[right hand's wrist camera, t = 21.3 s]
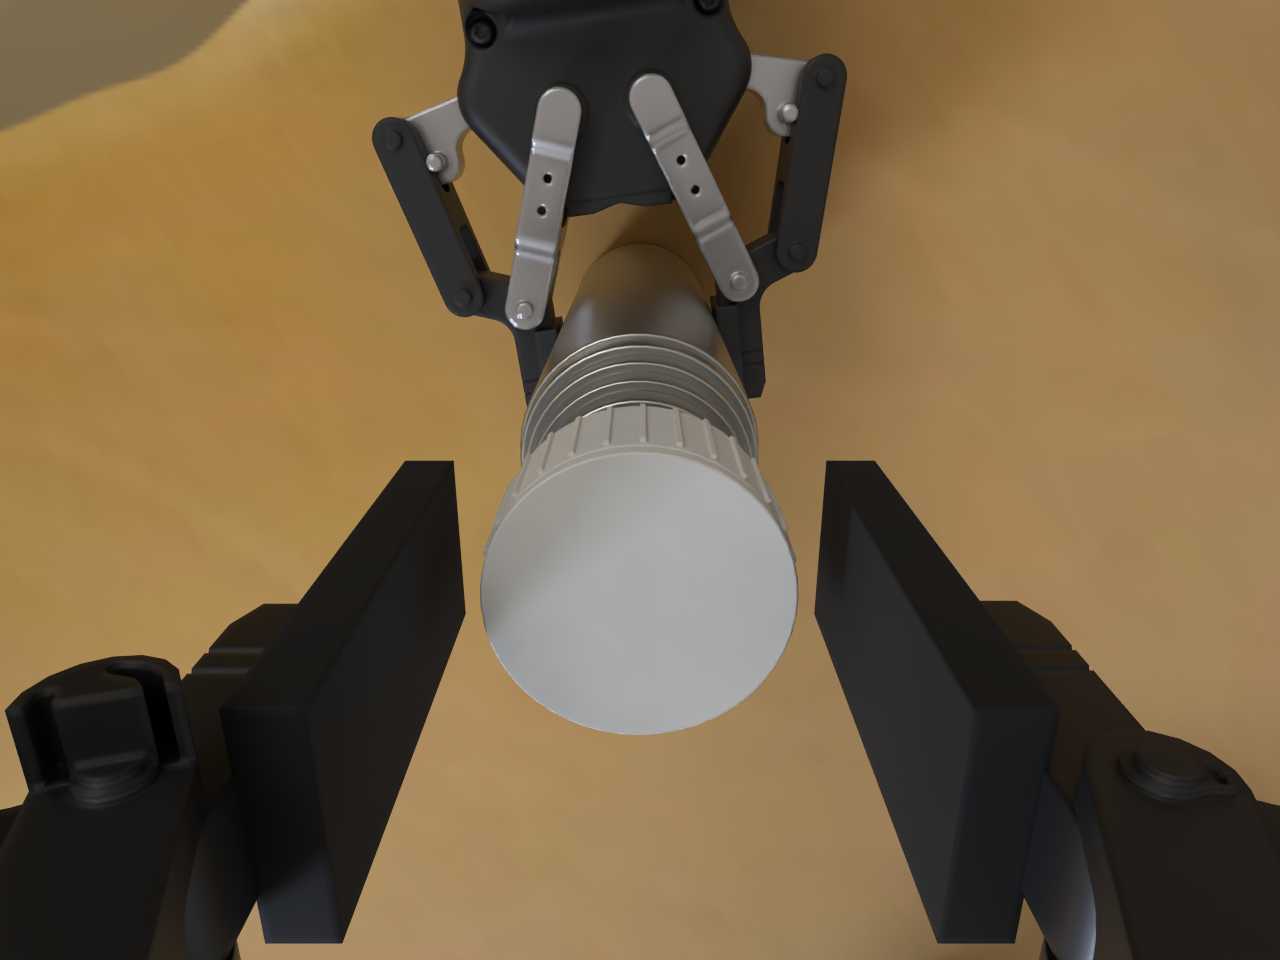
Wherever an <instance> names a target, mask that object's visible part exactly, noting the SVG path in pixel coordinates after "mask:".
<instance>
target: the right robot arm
mask: <svg viewBox="0 0 1280 960" xmlns="http://www.w3.org/2000/svg"><path fill="white" fill-rule="evenodd" d="M465 614H466V612H465V600H464V587H463V574H462V562H461V549H460V536H459V524H458V511H457V498H456V486H455V473H454V461H405V462H404V463H403V465H402V466H401V467H400V469H399V470H398V471H397V473H396V474H395V475H394V477H393V478H392V479H391V481H390V482H389V483H388V485H387V486H386V487H385V489H384V490H383V491H382V493H381V494H380V495H379V497H378V498H377V499H376V501H375V502H374V503H373V505H372V506H371V507H370V509H369V510H368V511H367V513H366V514H365V515H364V517H363V518H362V519H361V521H360V522H359V523H358V525H357V526H356V527H355V529H354V530H353V531H352V533H351V534H350V535H349V537H348V538H347V539H346V541H345V542H344V543H343V545H342V546H341V547H340V549H339V550H338V551H337V553H336V554H335V555H334V557H333V558H332V559H331V561H330V562H329V563H328V565H327V566H326V567H325V569H324V570H323V571H322V573H321V574H320V575H319V577H318V578H317V579H316V581H315V582H314V583H313V585H312V586H311V587H310V589H309V590H308V591H307V593H306V594H305V595H304V597H303V598H302V599H301V601H300V602H299V603H298V604H263V605H261V606H259V607H258V608H256V609H254V610H253V611H251V612H249V613H248V614H246V615H245V616H243V617H241V618H240V619H238V620H236V621H235V622H233V623H231V624H230V625H229V626H228V627H227V628H226V629H225V631H224V632H223V633H222V634H221V635H220V636H219V638H218V639H217V640H216V641H215V642H214V643H213V645H212V646H211V647H210V648H209V653H205V654H204V655H203V656H202V657H201V658H200V660H199V661H198V662H197V663H196V664H195V665H194V667H193V668H192V673H191V674H187V675H186V676H185V677H184V678H183V679H182V681H181V678H180V673H179V669H178V668H176V667H175V666H174V665H172V664H171V663H170V662H168V661H167V660H166V659H160V658H155V657H150V656H145V655H135V656H116V657H109V658H105V659H100V660H96V661H92V662H87V663H83V664H79V665H77V666H74V667H71V668H69V669H66V670H64V671H61V672H59V673H56V674H53V675H51V676H48V677H47V678H45V679H43V680H42V681H40V682H38V683H37V684H35V685H34V686H32V687H30V688H29V689H27V690H25V691H24V692H22V693H21V694H20V695H19V696H18V697H17V698H16V699H15V700H14V701H13V702H12V703H11V704H10V705H9V707H8V708H7V709H6V710H5V713H6V716H7V719H8V723H9V726H10V729H11V733H12V736H13V739H14V743H15V746H16V749H17V753H18V756H19V759H20V763H21V766H22V769H23V773H24V776H25V779H26V783H27V786H28V789H29V792H28V794H27V796H26V798H25V800H24V802H23V804H22V805H19V806H15V807H11V808H7V809H2V810H0V960H241V958H240V953H239V948H238V944H237V938H238V936H239V934H240V932H241V930H242V928H243V926H244V924H245V922H246V920H247V918H248V916H249V914H250V912H251V910H252V908H253V906H254V904H255V902H256V900H257V904H258V909H259V914H260V919H261V924H262V929H263V934H264V939H265V943H343V940H344V937H345V935H346V932H347V929H348V927H349V924H350V921H351V919H352V916H353V913H354V911H355V908H356V905H357V903H358V900H359V897H360V895H361V892H362V889H363V887H364V884H365V881H366V879H367V876H368V873H369V871H370V868H371V865H372V863H373V860H374V857H375V855H376V852H377V849H378V847H379V844H380V841H381V839H382V836H383V833H384V831H385V828H386V825H387V823H388V820H389V817H390V815H391V812H392V809H393V806H394V804H395V801H396V798H397V796H398V793H399V790H400V788H401V785H402V782H403V780H404V777H405V774H406V772H407V769H408V766H409V764H410V761H411V758H412V756H413V753H414V750H415V748H416V745H417V742H418V740H419V737H420V734H421V732H422V729H423V726H424V724H425V721H426V718H427V716H428V713H429V710H430V708H431V705H432V702H433V700H434V697H435V694H436V692H437V689H438V686H439V684H440V681H441V678H442V676H443V673H444V670H445V668H446V665H447V662H448V660H449V657H450V654H451V652H452V649H453V646H454V644H455V641H456V638H457V635H458V633H459V630H460V627H461V625H462V622H463V619H464V617H465ZM814 614H815V617H816V619H817V622H818V625H819V627H820V630H821V633H822V635H823V638H824V641H825V643H826V646H827V649H828V651H829V654H830V657H831V660H832V662H833V665H834V668H835V670H836V673H837V676H838V678H839V681H840V684H841V686H842V689H843V692H844V694H845V697H846V700H847V702H848V705H849V708H850V710H851V713H852V716H853V718H854V721H855V724H856V726H857V729H858V732H859V734H860V737H861V740H862V742H863V745H864V748H865V750H866V753H867V756H868V758H869V761H870V764H871V766H872V769H873V772H874V774H875V777H876V780H877V782H878V785H879V788H880V790H881V793H882V796H883V798H884V801H885V804H886V806H887V809H888V812H889V814H890V817H891V820H892V822H893V825H894V828H895V831H896V833H897V836H898V839H899V841H900V844H901V847H902V849H903V852H904V855H905V857H906V860H907V863H908V865H909V868H910V871H911V873H912V876H913V879H914V881H915V884H916V887H917V889H918V892H919V895H920V897H921V900H922V903H923V905H924V908H925V911H926V913H927V916H928V919H929V921H930V924H931V927H932V929H933V932H934V935H935V937H936V940H937V943H1015V939H1016V934H1017V929H1018V924H1019V919H1020V914H1021V909H1022V904H1023V899H1024V898H1025V900H1026V902H1027V904H1028V906H1029V908H1030V909H1031V911H1032V913H1033V915H1034V917H1035V919H1036V921H1037V923H1038V925H1039V927H1040V929H1041V931H1042V933H1043V935H1044V939H1043V944H1042V948H1041V953H1040V958H1039V960H1280V806H1278V805H1273V804H1269V803H1265V802H1262V801H1258V800H1256V799H1255V797H1254V795H1253V793H1252V791H1251V789H1250V788H1249V787H1248V786H1247V784H1246V783H1245V782H1244V781H1243V779H1242V778H1241V777H1240V776H1239V774H1238V773H1237V772H1236V771H1235V770H1234V769H1233V768H1231V767H1230V766H1228V765H1227V764H1226V763H1224V762H1223V761H1221V760H1220V759H1219V758H1217V757H1216V756H1214V755H1213V754H1211V753H1210V752H1208V751H1205V750H1203V749H1201V748H1199V747H1197V746H1194V745H1192V744H1190V743H1188V742H1186V741H1183V740H1181V739H1178V738H1174V737H1170V736H1167V735H1163V734H1159V733H1155V732H1151V731H1145V729H1144V728H1143V727H1142V726H1141V725H1140V724H1139V723H1138V721H1137V720H1136V719H1135V718H1134V717H1133V716H1132V714H1131V713H1130V712H1129V711H1128V710H1127V709H1126V708H1125V706H1124V705H1123V704H1122V703H1121V702H1120V701H1119V700H1118V698H1117V697H1116V696H1115V695H1114V694H1113V693H1112V691H1111V690H1110V689H1109V688H1108V687H1107V686H1106V685H1105V683H1104V682H1103V681H1102V680H1101V679H1100V678H1099V676H1098V675H1097V674H1096V673H1095V672H1094V671H1090V670H1089V665H1088V664H1087V663H1086V661H1085V660H1084V659H1083V658H1082V657H1081V656H1080V655H1079V653H1078V652H1077V651H1076V650H1072V645H1071V644H1070V643H1069V642H1068V641H1067V640H1066V638H1065V637H1064V636H1063V635H1062V634H1061V633H1060V631H1059V630H1058V629H1057V628H1056V627H1055V626H1054V625H1053V623H1052V622H1051V621H1049V620H1048V619H1046V618H1044V617H1043V616H1041V615H1039V614H1038V613H1036V612H1034V611H1033V610H1031V609H1029V608H1028V607H1026V606H1024V605H1023V604H1021V603H1019V602H1018V601H979V599H978V598H977V597H976V595H975V594H974V593H973V591H972V590H971V589H970V587H969V586H968V585H967V583H966V582H965V581H964V579H963V578H962V577H961V575H960V574H959V573H958V571H957V570H956V569H955V567H954V566H953V565H952V563H951V562H950V561H949V559H948V558H947V557H946V555H945V554H944V553H943V551H942V550H941V549H940V547H939V546H938V545H937V543H936V542H935V541H934V539H933V538H932V537H931V535H930V534H929V533H928V531H927V530H926V529H925V527H924V526H923V525H922V523H921V522H920V521H919V519H918V518H917V517H916V515H915V514H914V513H913V511H912V510H911V509H910V507H909V506H908V505H907V503H906V502H905V501H904V499H903V498H902V497H901V495H900V494H899V493H898V491H897V490H896V489H895V487H894V486H893V485H892V483H891V482H890V481H889V479H888V478H887V477H886V475H885V474H884V473H883V471H882V470H881V469H880V467H879V466H878V465H877V463H876V462H875V461H826V473H825V486H824V499H823V511H822V524H821V537H820V549H819V562H818V575H817V587H816V600H815V613H814Z"/></svg>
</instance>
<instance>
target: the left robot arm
mask: <svg viewBox="0 0 1280 960" xmlns="http://www.w3.org/2000/svg"><path fill="white" fill-rule="evenodd" d="M458 3H459V8H460V14H461V19H462V25H463V30H464V37H465V61H464V66H463V71H462V74H461V77H460V80H459V83H458V90H457V96H456V97H454V98H452V99H449V100H447V101H444V102H442V103H440V104H437V105H435V106H433V107H430V108H428V109H426V110H423V111H421V112H419V113H416V114H414V115H411V116H409V117H406V118H404V117H388V118H384V119H382V120H381V121H379V122H378V123H377V124H376V126H375V128H374V130H373V133H372V141H373V145H374V148H375V150H376V153H377V155H378V157H379V159H380V161H381V164H382V166H383V168H384V170H385V172H386V175H387V177H388V179H389V181H390V183H391V186H392V188H393V190H394V192H395V194H396V197H397V199H398V201H399V203H400V205H401V208H402V210H403V212H404V214H405V216H406V219H407V221H408V223H409V225H410V227H411V230H412V232H413V234H414V236H415V238H416V241H417V243H418V245H419V247H420V249H421V252H422V254H423V256H424V258H425V260H426V263H427V265H428V267H429V269H430V272H431V274H432V276H433V278H434V280H435V283H436V285H437V287H438V289H439V291H440V294H441V296H442V298H443V300H444V302H445V305H446V306H447V308H448V309H449V310H450V311H451V312H452V313H453V314H455V315H457V316H460V317H469V316H472V315H476V316H480V317H485V318H489V319H494V320H497V321H500V322H502V323H503V324H505V325H506V326H507V327H508V328H509V329H510V330H511V332H512V333H513V336H514V338H515V342H516V348H517V354H518V359H519V365H520V370H521V376H522V381H523V387H524V392H525V398H526V403H527V407H528V404H529V402H530V399H531V397H532V395H533V392H534V390H535V388H536V386H537V383H538V381H539V379H540V376H541V374H542V372H543V369H544V367H545V365H546V363H547V360H548V358H549V356H550V353H551V351H552V349H553V346H554V344H555V342H556V340H557V337H558V335H559V333H560V330H561V328H562V326H563V319H562V316H561V317H555V313H554V307H553V300H552V297H553V292H554V287H555V282H556V277H557V271H558V266H559V261H560V256H561V251H562V248H563V244H564V240H565V235H566V230H567V225H568V220H569V217H573V216H581V215H588V214H594V213H597V212H599V211H601V210H603V209H606V208H608V207H610V206H613V205H615V204H618V203H625V204H632V205H640V206H654V205H661V204H669V203H672V200H676V202H677V204H678V206H679V208H680V210H681V213H682V215H683V217H684V219H685V221H686V223H687V225H688V227H689V229H690V231H691V233H692V235H693V237H694V239H695V241H696V243H697V245H698V247H699V249H700V251H701V253H702V255H703V257H704V259H705V261H706V263H707V265H708V267H709V269H710V271H711V273H712V275H713V277H714V279H715V288H716V296H710V301H711V311H712V316H713V318H714V321H715V323H716V325H717V327H718V330H719V332H720V334H721V337H722V339H723V341H724V344H725V346H726V348H727V351H728V353H729V355H730V358H731V360H732V362H733V365H734V367H735V369H736V372H737V374H738V376H739V379H740V381H741V383H742V386H743V388H744V390H745V393H746V395H747V397H748V399H749V398H757V397H761V394H762V391H763V388H764V385H765V382H766V380H765V368H764V356H763V344H762V332H761V320H760V300H761V297H762V294H763V293H764V291H765V290H766V289H767V287H768V286H770V285H771V284H772V283H774V282H776V281H778V280H780V279H782V278H784V277H786V276H788V275H789V274H791V273H793V272H802V271H804V270H806V269H808V268H809V267H810V266H811V265H812V264H813V263H814V261H815V259H816V256H817V251H818V245H819V239H820V233H821V227H822V221H823V215H824V209H825V203H826V198H827V192H828V186H829V180H830V174H831V168H832V162H833V156H834V150H835V144H836V139H837V133H838V127H839V121H840V115H841V109H842V103H843V97H844V91H845V85H846V79H847V72H846V68H845V65H844V63H843V62H842V61H841V59H839V58H838V57H837V56H835V55H832V54H821V55H819V56H816V57H814V58H812V59H810V60H799V59H790V58H782V57H773V56H764V55H755V54H750V50H749V47H748V45H747V43H746V41H745V40H744V38H743V37H742V35H741V33H740V32H739V30H738V29H737V27H736V25H735V22H734V20H733V18H732V15H731V12H730V8H729V3H728V0H458ZM745 91H748V92H751V93H752V94H754V95H755V96H756V97H757V98H758V100H759V101H760V104H761V107H762V120H763V124H764V126H765V128H766V129H767V131H769V132H770V133H771V134H773V135H775V136H780V137H782V139H781V146H780V153H779V159H778V166H777V173H776V180H775V186H774V193H773V200H772V206H771V213H770V220H769V226H768V233H767V234H766V235H765V236H763V237H761V238H759V239H757V240H755V241H753V242H751V243H749V244H747V245H744V243H743V241H742V239H741V237H740V235H739V233H738V231H737V229H736V226H735V224H734V222H733V220H732V217H731V214H730V212H729V210H728V207H727V205H726V203H725V201H724V199H723V197H722V195H721V193H720V190H719V188H718V186H717V184H716V182H715V180H714V178H713V176H712V174H711V171H710V169H709V167H708V165H707V161H708V159H709V158H710V156H711V154H712V152H713V150H714V148H715V146H716V144H717V143H718V141H719V139H720V137H721V135H722V133H723V131H724V130H725V128H726V126H727V124H728V122H729V120H730V118H731V116H732V115H733V113H734V111H735V109H736V107H737V105H738V103H739V102H740V100H741V98H742V96H743V94H744V92H745ZM471 130H473V131H474V133H475V134H476V135H477V136H478V137H479V138H480V139H481V140H482V141H483V142H484V143H485V144H486V145H487V146H488V147H489V148H490V150H491V151H492V152H493V153H494V154H495V155H496V156H497V157H498V158H499V159H500V160H501V161H502V162H503V163H504V164H505V165H506V167H507V168H508V169H509V170H510V171H511V172H512V173H513V174H514V175H515V176H516V177H517V178H518V179H519V180H520V181H521V182H522V184H523V185H524V192H523V198H522V203H521V209H520V215H519V220H518V226H517V232H516V238H515V254H514V260H513V265H512V271H511V276H508V275H504V274H500V273H495V272H491V271H490V269H489V267H488V264H487V262H486V260H485V257H484V255H483V253H482V250H481V248H480V246H479V243H478V241H477V239H476V236H475V234H474V232H473V230H472V227H471V225H470V223H469V220H468V218H467V216H466V213H465V211H464V209H463V206H462V204H461V202H460V199H459V197H458V195H457V192H456V190H455V188H454V185H453V183H452V182H454V181H456V180H457V179H458V178H460V176H461V175H462V173H463V171H464V168H465V159H464V155H463V150H462V145H463V141H464V138H465V137H466V135H467V134H468V133H469V132H470V131H471ZM692 186H693V187H692Z"/></svg>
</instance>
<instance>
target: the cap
mask: <svg viewBox="0 0 1280 960" xmlns="http://www.w3.org/2000/svg"><path fill="white" fill-rule="evenodd" d="M493 524H494V526H493V528H492V531H491V534H490V536H489V539H488V541H487V544H486V547H485V549H484V553H483V555H484V556H486V557H485V561H484V565H483V568H482V576H481V585H480V598H481V610H482V616H483V621H484V626H485V629H486V632H487V635H488V638H489V641H490V643H491V645H492V647H493V649H494V651H495V653H496V655H497V657H498V659H499V660H500V662H501V663H502V665H503V666H504V668H505V669H506V671H507V672H508V674H509V675H510V676H511V677H512V678H513V679H514V680H515V682H516V683H517V684H518V685H519V686H520V687H521V688H522V689H523V690H524V691H525V692H526V693H527V694H529V695H530V696H531V697H532V698H533V699H534V700H536V701H537V702H538V703H540V704H541V705H543V706H544V707H546V708H547V709H549V710H550V711H552V712H554V713H556V714H558V715H560V716H562V717H564V718H566V719H568V720H570V721H572V722H575V723H578V724H580V725H583V726H586V727H589V728H593V729H597V730H601V731H605V732H612V733H620V734H636V735H647V734H659V733H667V732H672V731H677V730H682V729H686V728H689V727H692V726H695V725H698V724H701V723H704V722H706V721H708V720H711V719H713V718H715V717H717V716H719V715H721V714H723V713H724V712H726V711H728V710H730V709H731V708H733V707H735V706H736V705H737V704H739V703H740V702H741V701H743V700H744V699H745V698H746V697H748V696H749V695H750V694H751V693H752V692H753V691H754V690H755V689H756V688H757V687H758V686H759V685H760V684H762V683H763V682H764V680H765V679H766V678H767V676H768V675H769V674H770V673H771V671H772V670H773V669H774V668H775V666H776V664H777V663H778V661H779V659H780V658H781V656H782V654H783V652H784V651H785V648H786V646H787V644H788V641H789V639H790V636H791V634H792V631H793V627H794V623H795V619H796V614H797V605H798V578H797V573H796V567H795V562H796V556H795V553H794V551H793V548H792V546H791V543H790V540H789V538H788V535H787V532H786V531H788V529H787V526H786V524H785V521H784V518H783V516H782V513H781V511H780V508H779V505H778V503H777V500H776V498H775V495H774V493H773V490H772V487H771V485H770V483H769V484H767V485H766V483H765V481H764V479H763V476H762V474H761V471H760V468H759V466H758V463H757V461H756V459H755V458H752V459H751V458H750V457H749V456H748V455H747V454H746V453H745V451H744V450H743V449H742V448H741V447H740V446H739V445H738V444H737V441H736V438H735V437H733V436H731V437H728V436H727V435H726V434H725V433H723V432H722V431H721V430H719V429H717V428H716V427H714V426H712V425H711V424H710V423H709V420H707V419H705V418H704V420H701V419H698V418H696V417H694V416H692V415H689V414H686V413H682V412H679V410H678V408H673V410H672V409H666V408H659V407H652V406H646V404H640V406H629V407H618V408H612V406H610V407H607V410H604V411H599V412H596V413H593V414H590V415H588V416H585V417H581V416H578V417H576V419H575V421H574V422H572V423H570V424H568V425H566V426H564V427H563V428H561V429H560V430H558V431H557V432H556V433H553V432H550V433H549V434H548V436H547V439H546V440H545V441H544V442H543V443H542V444H541V445H540V446H539V447H538V448H537V449H536V450H535V451H534V452H533V453H532V454H530V453H528V454H527V455H526V457H525V459H524V462H523V465H522V468H521V470H520V471H519V473H518V475H517V476H516V478H515V479H513V478H511V480H510V482H509V485H508V487H507V490H506V492H505V495H504V497H503V500H502V503H501V505H500V508H499V510H498V513H497V515H496V518H495V520H494V523H493Z"/></svg>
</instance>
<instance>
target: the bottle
mask: <svg viewBox="0 0 1280 960" xmlns="http://www.w3.org/2000/svg"><path fill="white" fill-rule="evenodd" d="M640 404H646V406H652V407H659V408H666V409H672V410H673V408H678V410H679V412H682V413H686V414H689V415H692V416H694V417H696V418H698V419H701V420H704V418H705V419H707V420H709V423H710V424H711V425H712V426H714V427H716V428H717V429H719V430H721V431H722V432H723V433H725V434H726V435H727V436H728V437H731V436H733V437H735V438H736V441H737V444H738V445H739V446H740V447H741V448H742V449H743V450H744V451H745V453H746V454H747V455H748V456H749V457H750V458H751V459H752V458H755V459H756V461H757V463H758V447H759V440H758V430H757V424H756V420H755V416H754V412H753V410H752V407H751V405H750V402H749V400H748V397H747V395H746V393H745V390H744V388H743V386H742V383H741V381H740V379H739V376H738V374H737V372H736V369H735V367H734V365H733V362H732V360H731V358H730V355H729V353H728V351H727V348H726V346H725V344H724V341H723V339H722V337H721V334H720V332H719V330H718V327H717V325H716V323H715V321H714V318H713V316H712V314H711V311H710V309H709V307H708V304H707V302H706V300H705V297H704V295H703V293H702V290H701V288H700V286H699V283H698V281H697V279H696V277H695V275H694V274H693V272H692V270H691V269H690V268H689V266H688V265H687V264H686V263H685V262H684V261H683V260H682V259H681V258H679V257H678V256H677V255H676V254H674V253H672V252H671V251H669V250H667V249H665V248H662V247H660V246H656V245H652V244H644V243H635V244H628V245H624V246H620V247H617V248H615V249H613V250H610V251H609V252H607V253H606V254H604V255H603V256H601V257H600V258H599V259H598V260H597V261H596V262H595V263H594V264H593V265H592V266H591V267H590V268H589V270H588V271H587V273H586V274H585V276H584V278H583V280H582V282H581V284H580V287H579V289H578V291H577V294H576V296H575V298H574V301H573V303H572V305H571V307H570V310H569V312H568V314H567V317H566V319H565V321H564V323H563V326H562V328H561V330H560V333H559V335H558V337H557V340H556V342H555V344H554V346H553V349H552V351H551V353H550V356H549V358H548V360H547V363H546V365H545V367H544V369H543V372H542V374H541V376H540V379H539V381H538V383H537V386H536V388H535V390H534V392H533V395H532V397H531V399H530V402H529V404H528V407H527V410H526V413H525V416H524V420H523V425H522V429H521V441H520V448H521V468H522V465H523V462H524V459H525V457H526V455H527V454H528V453H530V454H532V453H533V452H534V451H535V450H536V449H537V448H538V447H539V446H540V445H541V444H542V443H543V442H544V441H545V440H546V439H547V436H548V434H549V433H550V432H553V433H556V432H557V431H558V430H560V429H561V428H563V427H564V426H566V425H568V424H570V423H572V422H574V421H575V419H576V417H578V416H581V417H585V416H588V415H590V414H593V413H596V412H599V411H604V410H607V407H610V406H612V408H618V407H629V406H640Z"/></svg>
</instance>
